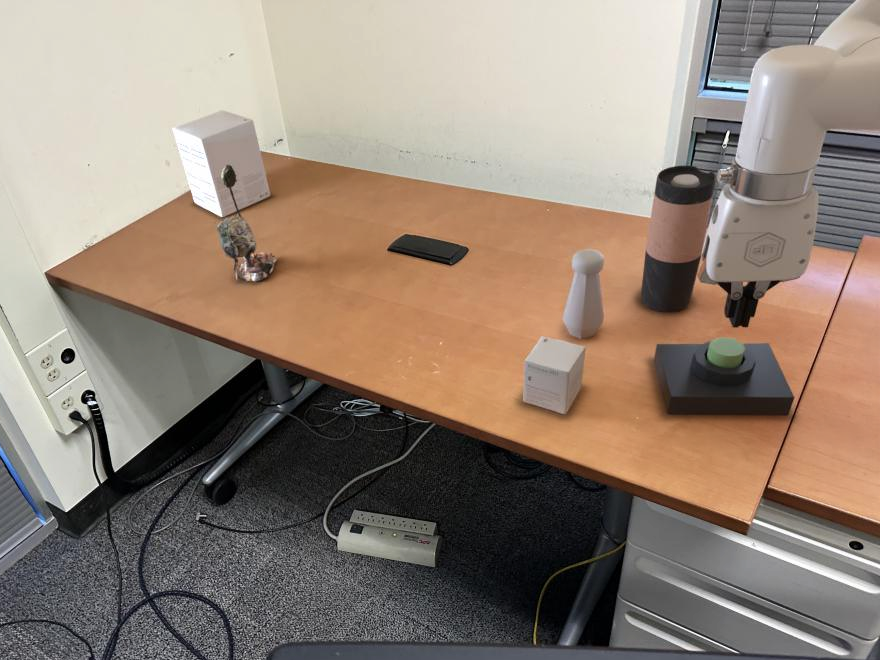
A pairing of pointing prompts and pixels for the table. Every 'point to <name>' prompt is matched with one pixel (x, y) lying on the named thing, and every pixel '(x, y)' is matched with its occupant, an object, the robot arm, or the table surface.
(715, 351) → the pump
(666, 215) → the travel mug
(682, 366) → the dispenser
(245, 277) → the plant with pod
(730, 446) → the table surface
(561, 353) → the product box
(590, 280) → the salt shaker
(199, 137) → the supplement box
